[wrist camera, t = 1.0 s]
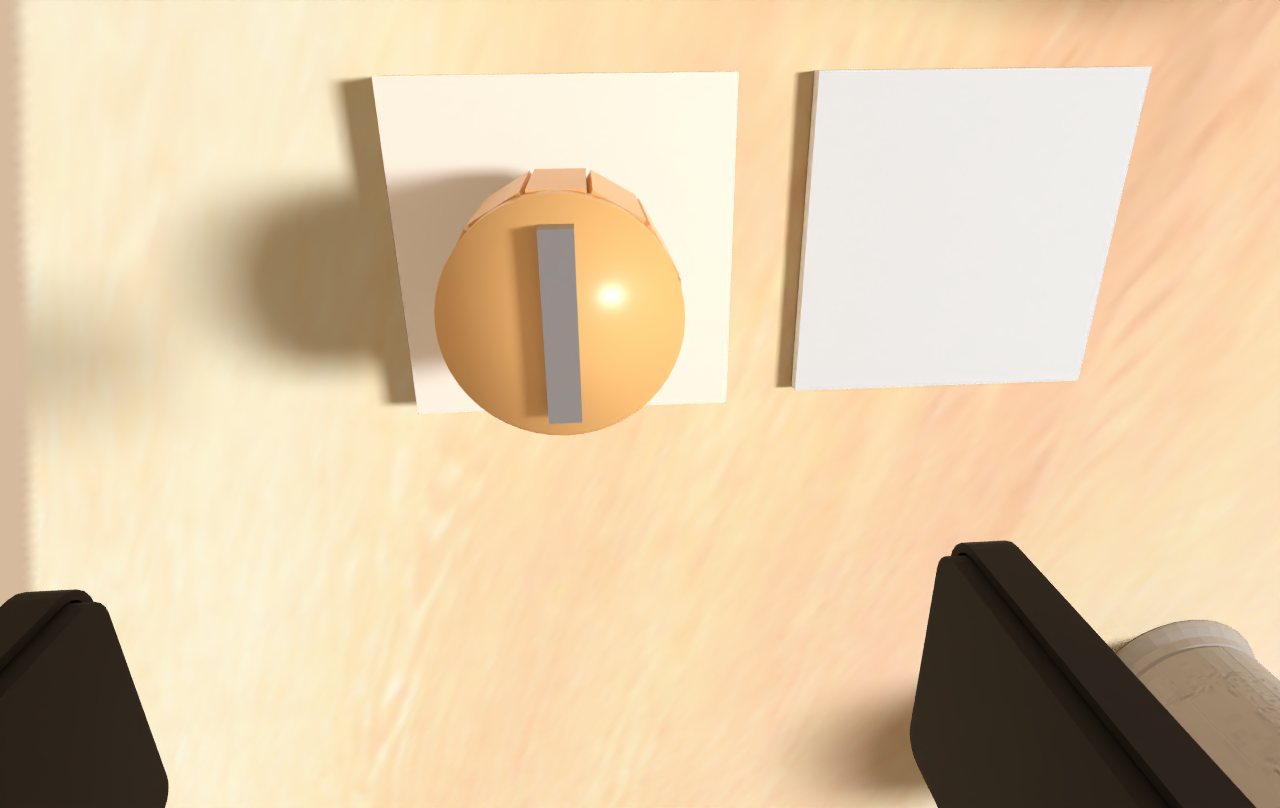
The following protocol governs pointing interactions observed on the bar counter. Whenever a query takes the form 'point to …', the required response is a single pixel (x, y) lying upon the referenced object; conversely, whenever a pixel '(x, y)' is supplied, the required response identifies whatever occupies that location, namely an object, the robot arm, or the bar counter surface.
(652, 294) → the knob
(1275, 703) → the glass holder
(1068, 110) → the mat
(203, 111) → the bar counter surface
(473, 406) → the post block
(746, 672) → the bar counter surface
